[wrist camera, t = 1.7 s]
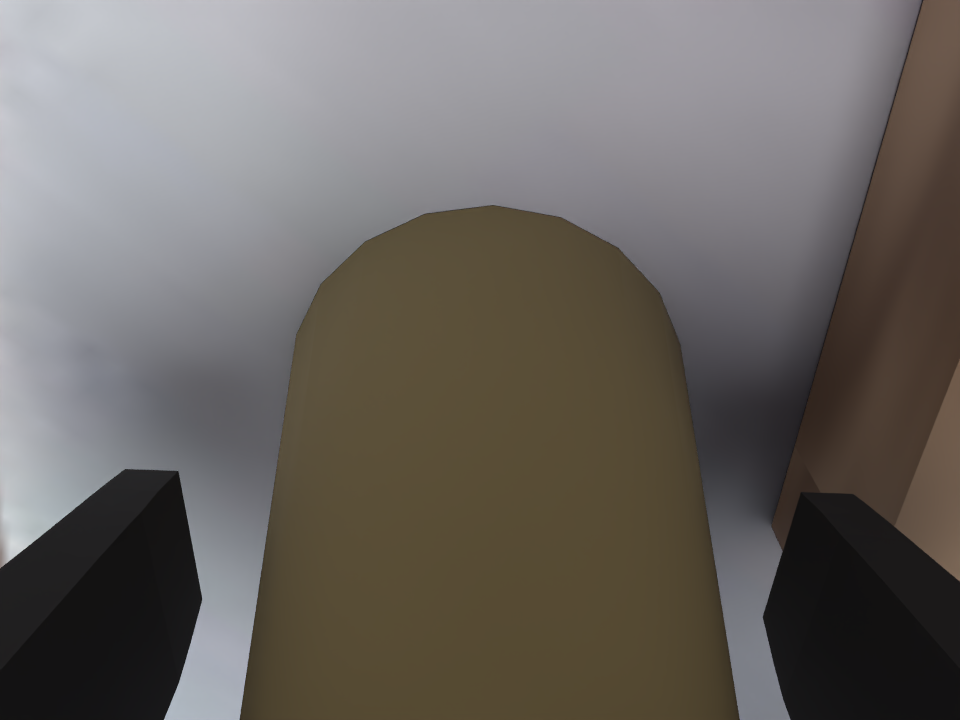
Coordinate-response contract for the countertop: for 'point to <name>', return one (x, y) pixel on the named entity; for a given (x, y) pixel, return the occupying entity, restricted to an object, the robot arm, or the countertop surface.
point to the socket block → (898, 321)
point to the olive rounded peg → (488, 491)
